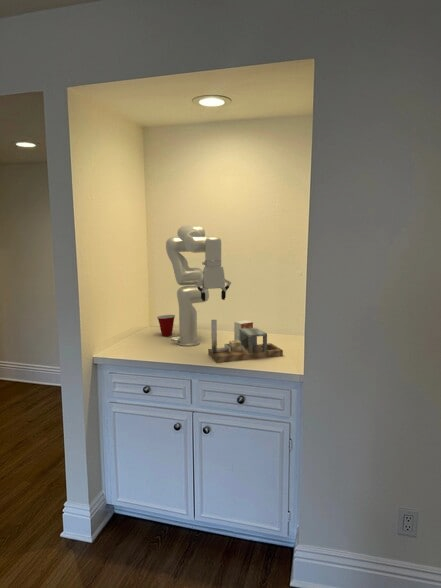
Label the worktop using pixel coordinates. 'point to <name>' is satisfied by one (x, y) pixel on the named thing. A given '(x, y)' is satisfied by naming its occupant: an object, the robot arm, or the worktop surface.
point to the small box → (241, 327)
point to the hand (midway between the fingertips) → (213, 300)
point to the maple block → (235, 346)
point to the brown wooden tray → (248, 348)
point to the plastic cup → (166, 324)
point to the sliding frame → (214, 340)
